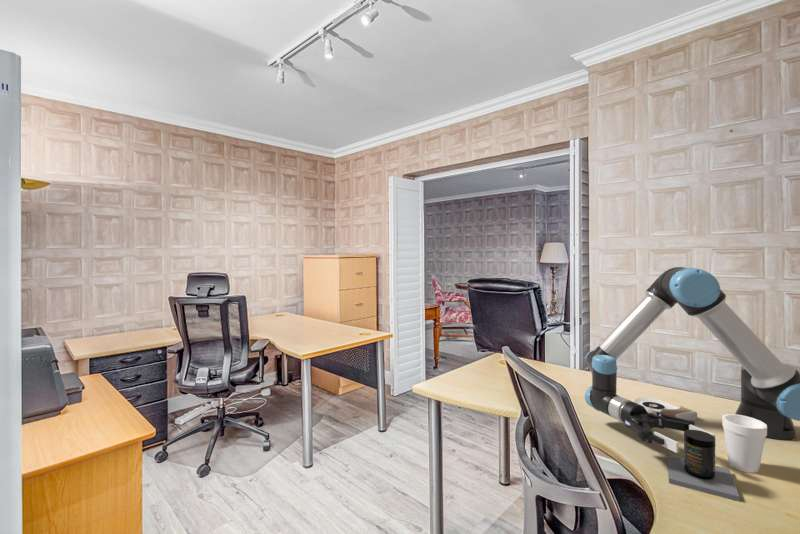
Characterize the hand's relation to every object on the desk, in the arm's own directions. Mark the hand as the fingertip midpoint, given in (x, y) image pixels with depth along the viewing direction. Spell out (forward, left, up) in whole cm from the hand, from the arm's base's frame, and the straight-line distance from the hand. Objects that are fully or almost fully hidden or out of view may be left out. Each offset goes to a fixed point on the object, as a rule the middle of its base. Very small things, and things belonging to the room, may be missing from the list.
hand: (696, 443), depth 102 cm
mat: (-1, 0, -9) cm, 9 cm away
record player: (+7, -47, -10) cm, 48 cm away
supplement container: (-1, 0, -8) cm, 8 cm away
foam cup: (-12, -13, -9) cm, 20 cm away
